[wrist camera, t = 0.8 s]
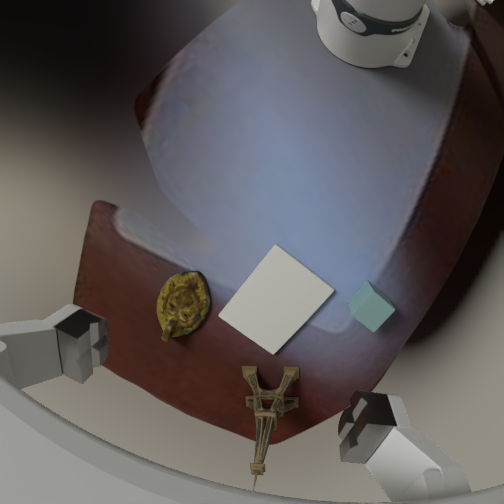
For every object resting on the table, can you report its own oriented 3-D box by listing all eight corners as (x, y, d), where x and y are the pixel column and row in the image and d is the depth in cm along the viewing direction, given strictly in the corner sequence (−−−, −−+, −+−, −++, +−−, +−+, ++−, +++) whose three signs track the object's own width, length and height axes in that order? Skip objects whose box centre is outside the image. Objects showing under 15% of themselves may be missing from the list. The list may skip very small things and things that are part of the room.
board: (275, 243, 48) (275, 244, 47) (334, 288, 48) (334, 290, 48) (219, 313, 53) (218, 315, 52) (273, 352, 53) (273, 354, 52)
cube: (367, 279, 47) (373, 291, 43) (387, 297, 47) (395, 309, 43) (347, 302, 49) (351, 315, 44) (367, 318, 49) (373, 332, 44)
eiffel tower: (242, 365, 55) (208, 470, 31) (299, 366, 53) (292, 477, 29) (246, 405, 58) (220, 504, 34) (298, 406, 56) (290, 510, 32)
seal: (176, 255, 52) (152, 321, 57) (163, 261, 48) (140, 331, 52) (222, 281, 51) (193, 346, 56) (212, 290, 47) (182, 358, 51)
